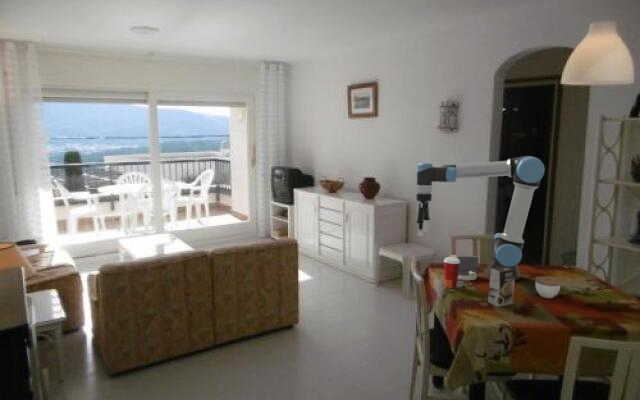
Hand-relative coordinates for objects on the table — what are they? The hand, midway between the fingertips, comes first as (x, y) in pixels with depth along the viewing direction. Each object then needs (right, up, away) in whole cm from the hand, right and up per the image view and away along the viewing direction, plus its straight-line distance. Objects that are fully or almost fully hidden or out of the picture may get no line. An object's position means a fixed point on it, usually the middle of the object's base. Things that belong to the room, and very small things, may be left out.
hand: (423, 234), depth 234 cm
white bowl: (+53, -28, -22) cm, 64 cm away
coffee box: (+27, -29, -32) cm, 51 cm away
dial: (+22, -21, +4) cm, 31 cm away
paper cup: (+11, -25, -11) cm, 29 cm away
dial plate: (+22, -23, +4) cm, 32 cm away
